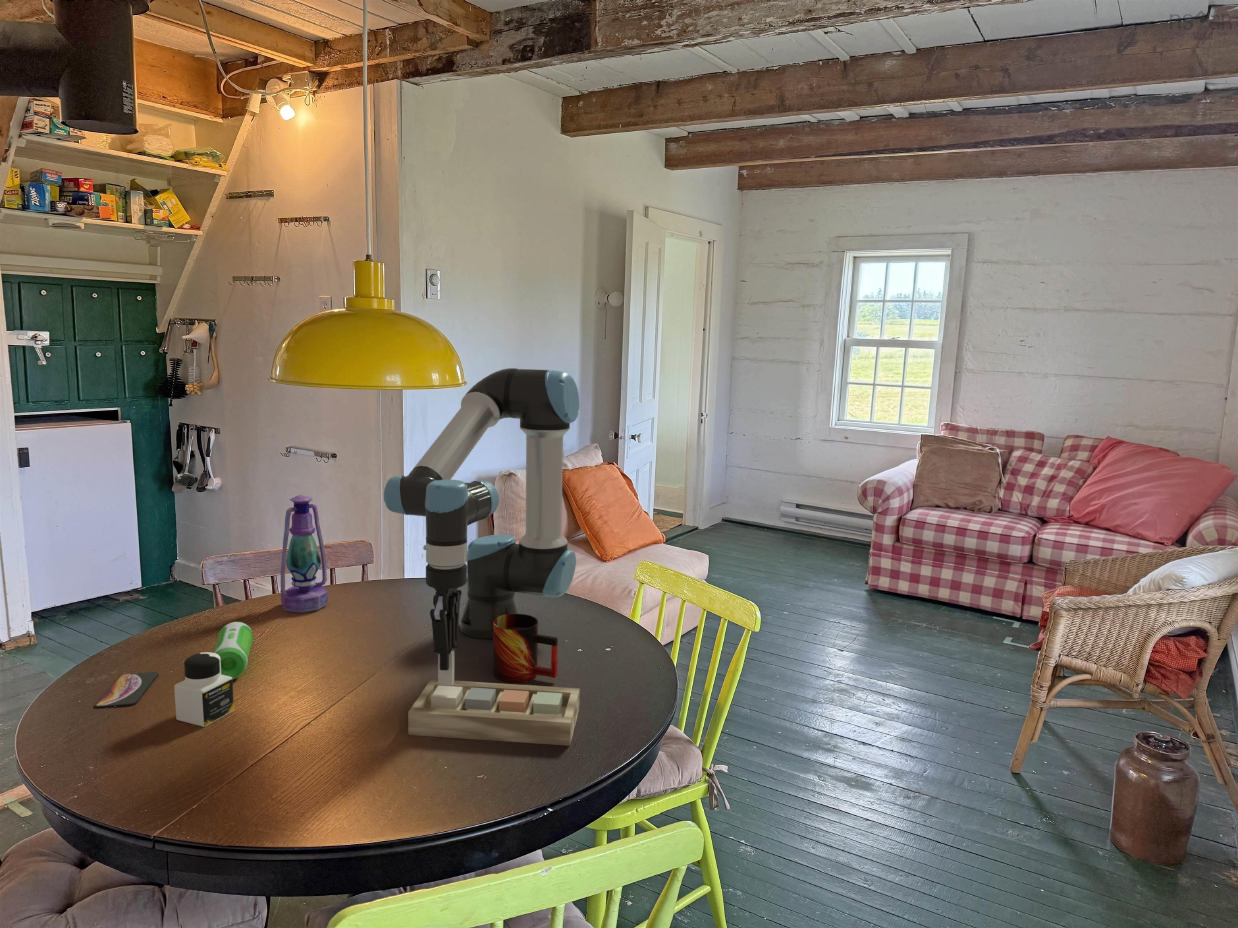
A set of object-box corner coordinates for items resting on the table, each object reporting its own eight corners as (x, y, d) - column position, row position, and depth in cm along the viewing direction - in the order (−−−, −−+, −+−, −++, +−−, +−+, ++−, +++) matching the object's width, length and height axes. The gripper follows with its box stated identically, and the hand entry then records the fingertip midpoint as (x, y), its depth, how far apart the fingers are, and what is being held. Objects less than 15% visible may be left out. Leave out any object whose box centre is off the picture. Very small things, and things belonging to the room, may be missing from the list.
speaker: (219, 652, 183) (217, 620, 182) (254, 648, 186) (253, 617, 184) (208, 685, 167) (206, 650, 166) (247, 681, 169) (246, 647, 168)
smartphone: (91, 706, 155) (120, 673, 170) (92, 711, 155) (121, 677, 170) (134, 703, 157) (160, 670, 171) (135, 707, 157) (160, 674, 171)
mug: (557, 683, 173) (558, 629, 171) (491, 684, 171) (491, 630, 169) (556, 664, 182) (557, 613, 180) (493, 664, 181) (494, 613, 179)
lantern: (296, 618, 204) (292, 502, 199) (268, 608, 210) (263, 495, 205) (340, 604, 215) (337, 493, 210) (312, 595, 221) (309, 487, 216)
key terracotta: (504, 699, 157) (504, 689, 157) (528, 700, 157) (528, 691, 156) (498, 710, 152) (499, 700, 152) (524, 712, 152) (524, 702, 152)
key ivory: (438, 694, 158) (438, 685, 158) (462, 696, 158) (462, 686, 157) (431, 706, 153) (430, 696, 153) (456, 708, 153) (455, 698, 153)
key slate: (471, 697, 158) (471, 687, 157) (495, 698, 157) (495, 688, 157) (464, 708, 153) (464, 698, 153) (490, 710, 153) (490, 700, 152)
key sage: (537, 701, 157) (537, 691, 156) (562, 702, 156) (562, 693, 156) (533, 713, 152) (533, 703, 152) (558, 714, 152) (558, 704, 151)
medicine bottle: (204, 727, 150) (201, 666, 148) (175, 720, 152) (171, 659, 150) (235, 711, 156) (231, 652, 154) (206, 704, 159) (203, 646, 157)
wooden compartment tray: (431, 700, 163) (431, 679, 163) (579, 709, 161) (579, 688, 161) (408, 734, 150) (408, 711, 149) (570, 745, 148) (570, 722, 147)
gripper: (436, 553, 157) (436, 668, 161) (415, 572, 145) (416, 696, 148) (474, 555, 157) (473, 670, 161) (456, 575, 144) (456, 699, 148)
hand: (446, 683), depth 155 cm, fingers closed
